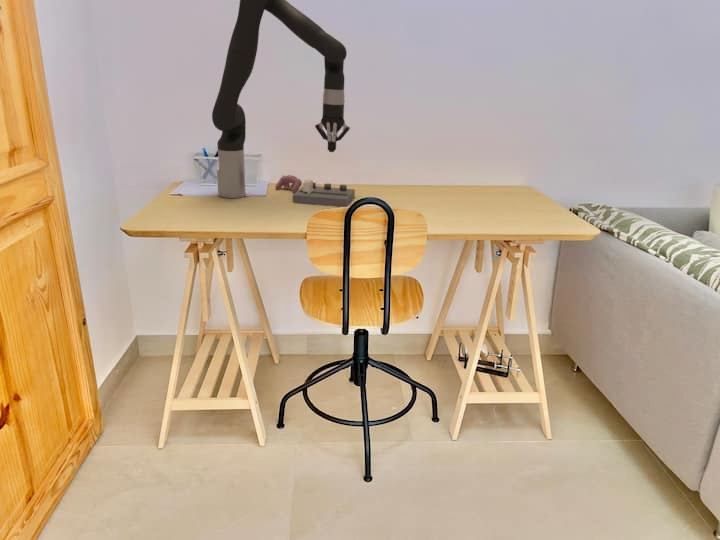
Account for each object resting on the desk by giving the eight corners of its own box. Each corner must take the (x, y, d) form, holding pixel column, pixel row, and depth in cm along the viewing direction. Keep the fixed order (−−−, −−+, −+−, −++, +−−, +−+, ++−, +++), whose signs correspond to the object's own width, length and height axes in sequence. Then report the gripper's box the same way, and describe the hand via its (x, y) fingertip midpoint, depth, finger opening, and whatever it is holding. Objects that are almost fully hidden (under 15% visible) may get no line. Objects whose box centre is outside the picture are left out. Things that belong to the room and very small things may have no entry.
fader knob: (303, 191, 202) (303, 181, 201) (306, 188, 206) (306, 178, 205) (309, 192, 202) (309, 182, 201) (312, 189, 206) (312, 179, 205)
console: (292, 202, 201) (292, 190, 199) (304, 192, 215) (304, 180, 213) (346, 206, 198) (347, 194, 196) (354, 196, 212) (354, 184, 211)
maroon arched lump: (300, 195, 216) (304, 178, 216) (293, 192, 212) (298, 175, 212) (280, 192, 221) (284, 175, 221) (273, 188, 217) (278, 171, 217)
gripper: (312, 102, 192) (311, 152, 199) (349, 104, 191) (347, 155, 197) (317, 100, 199) (316, 148, 206) (353, 103, 198) (351, 151, 204)
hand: (331, 151), depth 201 cm, fingers closed
